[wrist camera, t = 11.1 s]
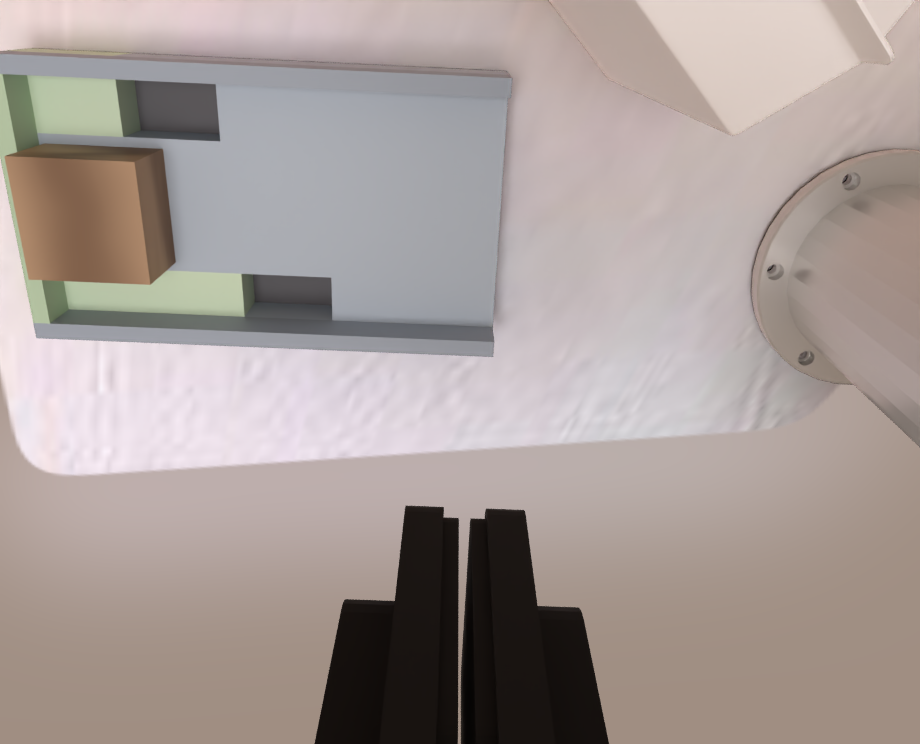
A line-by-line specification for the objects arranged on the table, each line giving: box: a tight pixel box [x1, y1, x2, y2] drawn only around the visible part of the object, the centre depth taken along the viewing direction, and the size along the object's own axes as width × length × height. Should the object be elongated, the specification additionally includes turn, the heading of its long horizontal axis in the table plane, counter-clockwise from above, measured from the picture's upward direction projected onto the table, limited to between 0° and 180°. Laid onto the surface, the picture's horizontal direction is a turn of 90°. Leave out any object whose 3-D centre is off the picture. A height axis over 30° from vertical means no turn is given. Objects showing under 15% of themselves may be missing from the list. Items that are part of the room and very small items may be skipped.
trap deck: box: [0, 48, 512, 357], centre depth 38 cm, size 22×13×4 cm, turn 87°
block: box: [4, 143, 176, 285], centre depth 36 cm, size 6×6×4 cm
